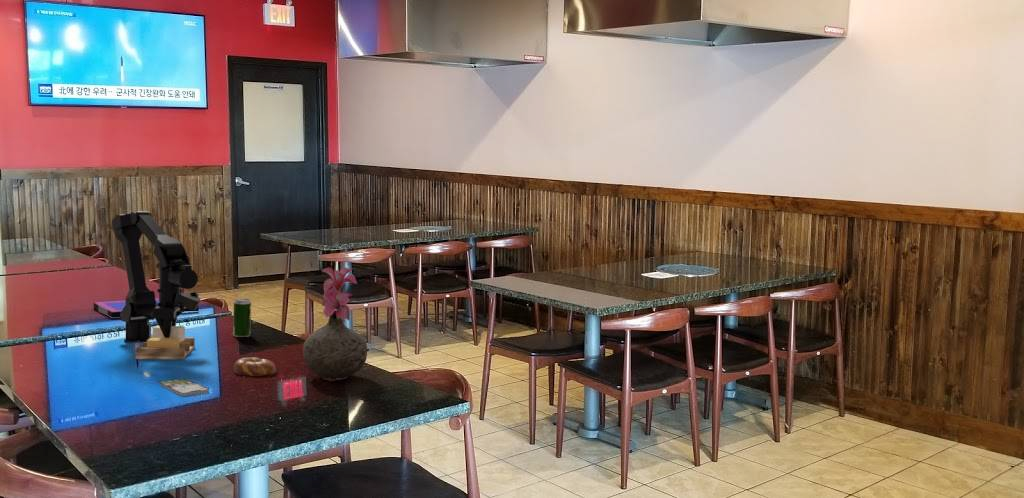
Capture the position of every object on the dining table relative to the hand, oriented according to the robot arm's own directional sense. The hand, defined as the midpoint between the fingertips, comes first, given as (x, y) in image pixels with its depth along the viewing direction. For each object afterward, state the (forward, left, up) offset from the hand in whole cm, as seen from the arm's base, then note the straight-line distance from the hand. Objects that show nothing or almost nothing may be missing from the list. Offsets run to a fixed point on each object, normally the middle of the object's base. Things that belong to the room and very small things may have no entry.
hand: (168, 336), depth 260 cm
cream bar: (0, 0, -1) cm, 1 cm away
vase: (+49, -31, -4) cm, 58 cm away
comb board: (0, -4, -4) cm, 5 cm away
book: (-21, +63, -5) cm, 67 cm away
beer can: (+18, +21, -4) cm, 28 cm away
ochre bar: (0, -7, -3) cm, 8 cm away
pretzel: (+28, -25, -4) cm, 37 cm away
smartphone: (+12, -42, -5) cm, 44 cm away
